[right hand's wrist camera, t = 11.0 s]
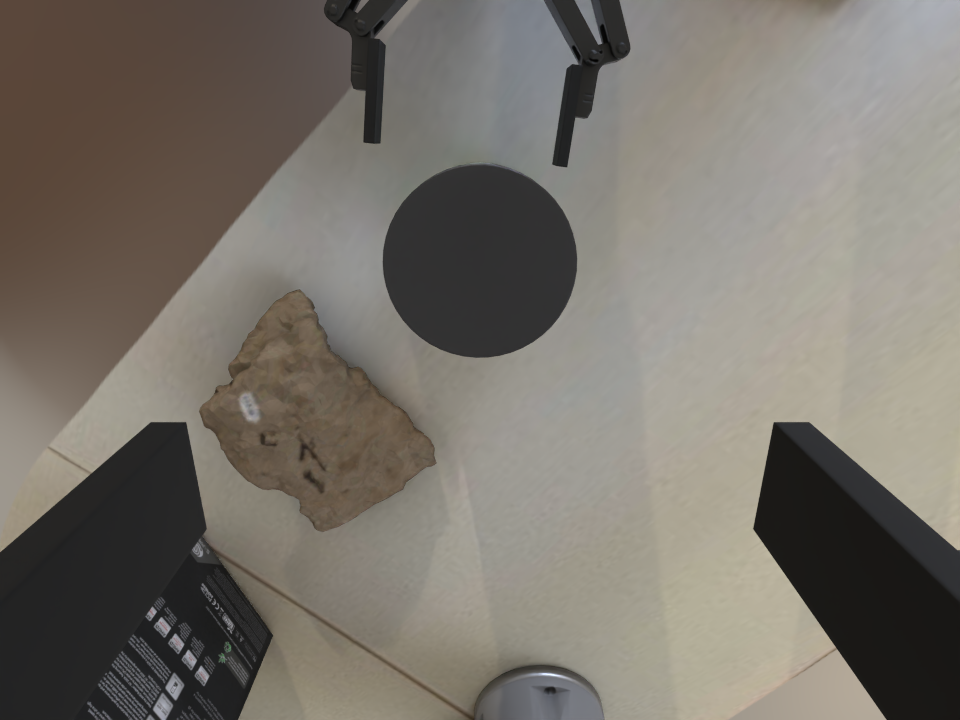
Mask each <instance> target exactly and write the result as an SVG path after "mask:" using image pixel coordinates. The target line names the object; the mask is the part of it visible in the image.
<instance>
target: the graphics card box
mask: <svg viewBox="0 0 960 720" xmlns="http://www.w3.org/2000/svg"><path fill="white" fill-rule="evenodd" d="M272 637H273V634H272V633H271V632H270V630H269V629H268V628H267V626H266V625H265V623H264V622H263V621H262V619H261V618H260V616H259V615H258V613H257V612H256V611H255V609H254V608H253V607H252V605H251V604H250V602H249V601H248V600H247V598H246V597H245V596H244V594H243V593H242V591H241V590H240V588H239V587H238V586H237V584H236V583H235V582H234V580H233V579H232V577H231V576H230V574H229V573H228V572H227V570H226V569H225V568H224V566H223V565H222V563H221V562H220V561H219V559H218V558H217V557H216V555H215V554H214V552H213V551H212V549H211V548H210V547H209V545H208V544H207V542H206V541H205V540H204V538H203V537H202V536H201V538H200V539H199V541H198V542H197V544H196V545H195V546H194V548H193V549H192V551H191V552H190V554H189V555H188V556H187V558H186V559H185V561H184V562H183V564H182V565H181V566H180V568H179V569H178V571H177V572H176V574H175V575H174V576H173V578H172V579H171V581H170V582H169V584H168V585H167V586H166V588H165V589H164V591H163V592H162V594H161V595H160V596H159V598H158V599H157V601H156V602H155V604H154V605H153V606H152V608H151V609H150V611H149V612H148V614H147V615H146V616H145V618H144V619H143V621H142V622H141V624H140V625H139V626H138V628H137V629H136V631H135V632H134V634H133V635H132V637H131V638H130V639H129V641H128V642H127V644H126V645H125V647H124V648H123V649H122V651H121V652H120V654H119V655H118V657H117V658H116V659H115V661H114V662H113V664H112V665H111V667H110V668H109V669H108V671H107V672H106V674H105V675H104V677H103V678H102V679H101V681H100V682H99V684H98V685H97V687H96V688H95V689H94V691H93V692H92V694H91V695H90V697H89V698H88V699H87V701H86V702H85V704H84V705H83V707H82V708H81V709H80V711H79V712H78V714H77V715H76V717H75V718H74V719H73V720H238V718H239V716H240V714H241V711H242V709H243V706H244V704H245V701H246V699H247V697H248V694H249V692H250V690H251V687H252V685H253V682H254V680H255V677H256V675H257V673H258V670H259V668H260V666H261V663H262V661H263V658H264V656H265V653H266V651H267V649H268V646H269V644H270V642H271V639H272Z"/></svg>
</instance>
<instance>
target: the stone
mask: <svg viewBox="0 0 960 720" xmlns="http://www.w3.org/2000/svg"><path fill="white" fill-rule="evenodd" d="M314 308H315V307H314V305H313V302H312V301H311V300H310V299H309V298H307V297H306V295H305V294H304V293H303V292H302V291H301V290H300V289H299V290H296V291H293V292H290V293H287V294H286V295H285V296H284V297H283V298H281V299H279V300H277V301H276V302H275V303H274V304H273V305H272V306H271V307H270V308H269V310H268V311H267V312H266V313H265V314H264V316H263V317H262V318H261V319H260V320H259V322H258V323H257V325H256V328H255V329H254V330H253V331H252V332H251V333H249V334H248V337H247V339H246V340H245V341H244V343H243V345H242V349H241V351H240V352H239V354H238V355H237V357H236V358H235V359H234V360H233V361H232V362H231V363H230V364H229V368H228V370H229V372H230V375H231V377H232V378H233V380H232V381H231V383H230V384H229V385H224V386H218V387H216V391H215V394H214V395H213V397H212V398H211V399H210V400H209V401H208V402H206V403H205V404H203V405H202V407H201V408H200V410H199V412H200V415H201V417H202V421H203V424H204V426H205V427H206V428H209V429H211V430H212V431H213V432H214V433H215V434H216V436H217V438H218V440H219V442H220V446H221V449H222V450H223V451H224V452H225V455H226V457H227V459H228V460H229V461H230V463H231V464H232V465H233V467H234V468H235V469H236V470H237V471H238V472H239V473H240V474H241V475H242V476H243V477H244V478H245V479H246V480H247V481H249V482H251V483H252V484H254V485H256V486H257V487H259V488H261V489H265V490H270V489H276V490H281V491H283V492H285V493H286V494H288V495H291V496H294V497H296V498H297V499H299V500H300V504H301V507H300V513H302V514H304V515H305V516H307V517H308V518H309V519H310V521H311V522H312V523H313V525H314V528H315V529H316V530H318V531H321V532H324V531H327V530H329V529H332V528H335V527H338V526H340V525H342V524H344V523H346V522H348V521H350V520H352V519H353V518H355V517H357V516H358V515H359V514H360V513H361V512H363V511H365V510H366V509H368V508H370V507H371V506H373V505H374V504H376V503H378V502H381V501H383V500H385V499H387V498H389V497H390V496H392V495H393V494H395V493H397V492H399V491H401V490H403V488H404V486H405V484H406V482H407V481H408V480H410V479H411V478H412V477H414V476H415V475H416V474H417V473H419V472H420V471H421V470H423V469H424V468H425V467H429V466H433V465H435V464H436V460H435V457H434V446H433V444H432V442H431V440H430V439H429V438H428V437H427V436H425V435H424V433H422V432H421V431H419V430H417V429H416V428H414V427H413V423H412V421H411V420H410V419H409V417H408V415H407V413H406V412H405V411H404V410H402V409H401V408H399V407H397V406H395V405H394V404H393V403H392V402H390V401H389V400H387V399H386V398H385V397H383V396H381V395H380V394H379V391H378V389H377V388H376V387H375V386H374V385H372V384H371V382H370V380H369V379H368V377H367V375H366V373H365V372H364V371H363V370H362V369H361V368H360V367H356V368H349V367H348V365H347V363H346V362H345V361H344V360H342V359H341V358H340V357H339V356H338V355H335V354H334V353H333V352H332V351H330V346H329V345H328V343H327V335H326V333H325V331H324V329H323V327H322V326H321V325H320V324H319V322H318V316H317V313H316V312H314V311H313V310H314Z"/></svg>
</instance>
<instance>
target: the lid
mask: <svg viewBox="0 0 960 720" xmlns="http://www.w3.org/2000/svg"><path fill="white" fill-rule="evenodd" d="M383 271H384V278H385V283H386V287H387V290H388V293H389V296H390V299H391V301H392V303H393V305H394V307H395V309H396V310H397V312H398V313H399V315H400V316H401V318H402V319H403V321H404V322H405V323H406V324H407V325H408V326H409V327H410V329H411V330H413V331H414V332H415V333H416V334H417V335H418V336H419V337H421V338H422V339H424V340H425V341H426V342H428V343H429V344H431V345H433V346H435V347H437V348H439V349H441V350H444V351H446V352H449V353H452V354H456V355H460V356H466V357H475V358H479V357H494V356H500V355H504V354H508V353H511V352H514V351H516V350H519V349H521V348H523V347H525V346H527V345H529V344H530V343H532V342H534V341H535V340H536V339H538V338H539V337H540V336H542V335H543V334H544V333H545V332H546V331H547V330H548V329H549V328H550V327H551V326H552V325H553V324H554V323H555V322H556V320H557V319H558V318H559V316H560V315H561V313H562V312H563V310H564V308H565V307H566V305H567V303H568V300H569V298H570V296H571V293H572V290H573V287H574V283H575V277H576V272H577V253H576V244H575V240H574V236H573V232H572V229H571V227H570V224H569V221H568V220H567V218H566V216H565V214H564V212H563V210H562V209H561V207H560V206H559V205H558V203H557V202H556V201H555V199H554V198H553V197H552V196H551V195H550V194H549V193H548V192H547V191H546V190H545V189H544V188H542V187H541V186H540V185H539V184H537V183H536V182H535V181H534V180H532V179H531V178H529V177H527V176H526V175H524V174H522V173H520V172H518V171H515V170H513V169H511V168H507V167H504V166H500V165H494V164H486V163H476V164H466V165H460V166H456V167H453V168H450V169H447V170H444V171H442V172H440V173H438V174H436V175H434V176H433V177H431V178H429V179H428V180H426V181H425V182H424V183H422V184H421V185H420V186H419V187H418V188H416V189H415V190H414V191H413V192H412V193H411V194H410V195H409V196H408V197H407V198H406V199H405V201H404V202H403V203H402V204H401V206H400V207H399V209H398V210H397V212H396V213H395V216H394V218H393V220H392V222H391V224H390V226H389V229H388V232H387V235H386V239H385V244H384V250H383Z"/></svg>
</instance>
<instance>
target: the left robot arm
mask: <svg viewBox="0 0 960 720" xmlns="http://www.w3.org/2000/svg"><path fill="white" fill-rule="evenodd" d="M360 1H361V0H327V2H326V4H325V7H324V13H325V15H326V17H327V18H328V19H329V20H330V21H332V22H333V23H334V24H335V25H337V26H339V27H341V28H343V29H344V30H346V31H348V32H349V33H350V35H351V37H352V62H351V63H352V65H351V82H352V85H353V89H356V90H361V91H366V96H365V119H364V142H365V143H373V144H378V143H380V141H381V122H382V103H383V85H384V66H385V47H386V45H385V44H384V43H383V42H382V41H381V40H380V39H374V37H375V36H376V35H377V34H378V33H379V32H380V31H381V30H382V28H383V27H384V26H385V25H386V24H387V23H388V22H389V21H390V20H391V18H392V17H393V16H394V15H395V14H396V13H397V12H398V11H399V9H400V8H401V7H402V6H403V5H404V4H405V3H406V2H407V0H369V1H368V2H367V3H366V4H365V6H364V7H363V8H362V9H361V10H360V11H359V12H358V13H356V12H355V10H356V8H357V6H358V4H359V2H360ZM544 1H545V3H546V5H547V7H548V9H549V11H550V12H551V14H552V16H553V18H554V20H555V22H556V23H557V25H558V27H559V29H560V31H561V32H562V34H563V36H564V38H565V40H566V42H567V43H568V45H569V47H570V49H571V51H572V53H573V54H574V56H575V58H576V60H577V62H578V64H579V65H574V64H572V65H571V66H569V67H568V68H567V70H566V77H565V84H564V90H563V97H562V103H561V110H560V117H559V123H558V130H557V137H556V143H555V150H554V157H553V163H552V164H553V165H555V166H561V167H567V165H568V159H569V153H570V147H571V140H572V134H573V128H574V121H575V118H583V119H585V118H588V116H589V114H590V113H591V111H592V105H593V99H594V93H595V87H596V81H597V75H598V71H599V69H600V68H601V66H602V65H606V64H610V63H614V62H617V61H619V60H621V59H623V58H624V57H626V56H627V55H628V54H629V52H630V43H629V38H628V34H627V30H626V26H625V22H624V18H623V14H622V10H621V6H620V2H619V0H591V3H592V6H593V10H594V14H595V18H596V22H597V26H598V30H599V33H600V37H601V41H602V44H600V45H598V44H597V42H596V40H595V38H594V36H593V35H592V33H591V31H590V29H589V27H588V25H587V23H586V21H585V19H584V18H583V16H582V14H581V12H580V10H579V8H578V6H577V4H576V3H575V1H574V0H544Z"/></svg>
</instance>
